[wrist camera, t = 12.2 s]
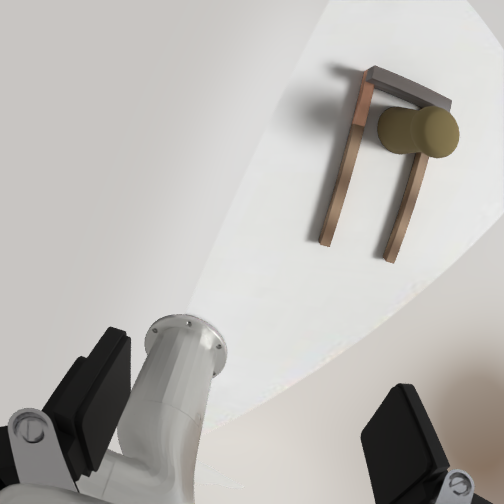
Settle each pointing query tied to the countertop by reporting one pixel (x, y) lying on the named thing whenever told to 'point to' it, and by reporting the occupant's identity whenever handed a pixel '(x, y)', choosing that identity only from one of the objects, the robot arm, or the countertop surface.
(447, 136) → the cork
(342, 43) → the countertop surface
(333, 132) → the countertop surface
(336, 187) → the guide channel
